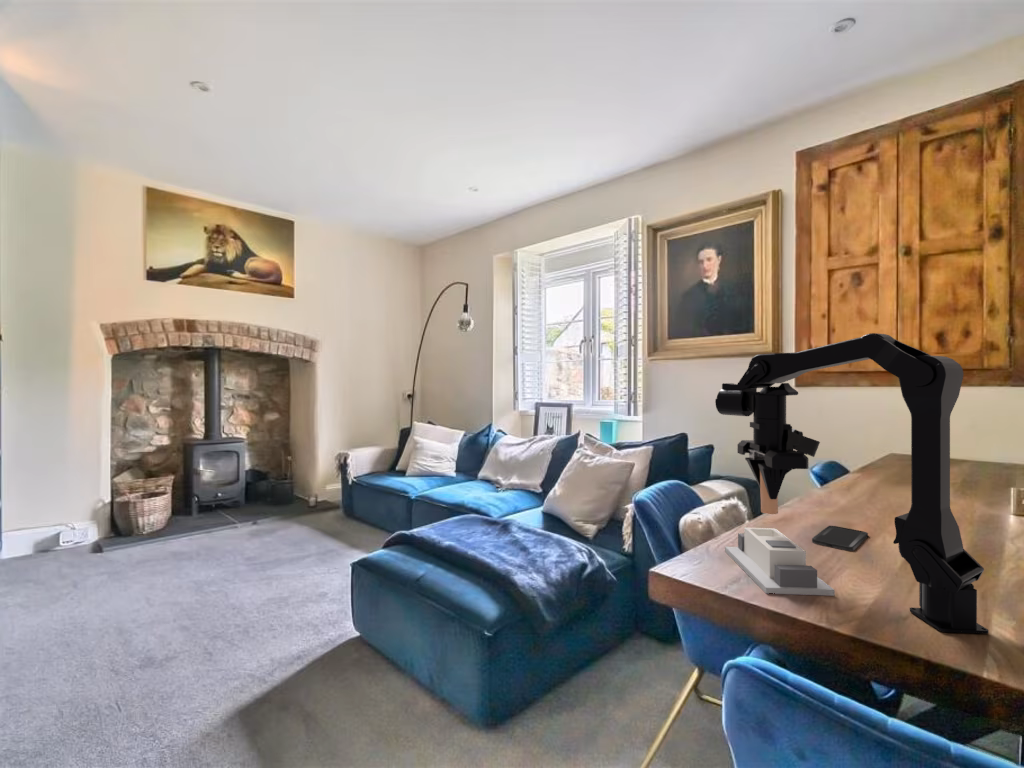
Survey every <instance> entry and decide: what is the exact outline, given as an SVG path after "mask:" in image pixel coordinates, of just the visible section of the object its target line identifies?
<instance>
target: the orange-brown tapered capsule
mask: <svg viewBox="0 0 1024 768" xmlns="http://www.w3.org/2000/svg"><path fill="white" fill-rule="evenodd" d="M759 489H760V494H759V495H760V512H761V513H762V514H765V515H766V514H768V515H777V514H779V498H778V497H779V495H778V496H777V499H770V497H769V495H768V492H767V489H766V486H765V483H764V480H763V477H762V474H761V472H760V487H759Z"/></svg>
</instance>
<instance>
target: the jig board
mask: <svg viewBox="0 0 1024 768" xmlns="http://www.w3.org/2000/svg"><path fill="white" fill-rule="evenodd" d="M724 552H725V553H726V554H727V555H728V557H730V558H731V559H732V560H733V562H735V563H736V564H737V565H738V567H740V568H741V569H742V571H743V572H744V573H745V574H747V576H748V577H750V578H751V580H752V581H754V583H755V584H756V585H757V586H758V587H759V588H760V589H761V590H762V591H763V592H764V593H765V594H769V593H773V594H774V593H775V594H776V595H798V596H799V595H801V596H803V595H804V596H806V595H807V596H832V597H833V596H834V597H835V589H834V588H833V587H831V585H829V584H827V583H826V582H825V581H824V580H822V579H821V578H819V577H818V570H817V569H816V568H815V567H814V566H812V565H806V566H804V565H775V578H769V577H768V576H767V575H766V574H765V573H764V572H763V571H762V570H761V569H760V568H759V567H758V566H757V565H756V563H755V562H754V561H753V560H752V559H751V558H750V557H749V556H748V555H747V554H746V553H745V552H744V533H740V532H739V533H737V546H724ZM773 594H772V595H773Z"/></svg>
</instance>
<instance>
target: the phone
mask: <svg viewBox="0 0 1024 768" xmlns="http://www.w3.org/2000/svg"><path fill="white" fill-rule="evenodd" d="M868 534H869V533H868V532H867V531H863V530H858V529H853V528H848V527H842V526H836V525H828V526H826V527H825V528H824V529H822V530H821V531H819V532H818V533H817V534H815V535H814V536H813V537H812V538H811V543H813V544H815V545H820V546H824V547H830V548H833V549H838V550H842V551H846V552H847V551H849V552H854V551H856V549H857V548H858V547H859V546H860V545H862V543H863V542H864V541H865V540H866V539H867V538H868V536H869V535H868Z"/></svg>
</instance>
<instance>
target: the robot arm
mask: <svg viewBox="0 0 1024 768" xmlns="http://www.w3.org/2000/svg"><path fill="white" fill-rule="evenodd" d="M869 360H871V361H873V362H874V363H876V364H877V365H878V366H879V367H881V368H882V369H883V370H885V371H886V372H888V373H890V374H892V375H894V376H895V377H896V378H898V381H899V382H898V383H899V386H900V391H901V396H902V399H903V400H904V403H905V404H906V407H907V409H908V410H909V411H908V412H910V413H909V414H910V421H911V424H910V425H911V427H910V428H911V429H910V431H911V432H910V435H911V436H910V437H911V443H910V444H911V445H910V446H911V449H910V450H911V452H910V453H911V463H910V465H911V470H910V471H911V472H910V473H911V478H910V479H911V490H910V491H911V493H910V495H911V496H910V497H911V500H910V501H911V503H910V509H909V511H908V512H906V513H903V514H901V515H897V516H895V517H894V526H895V528H894V529H895V538H894V539H893V545H897V544H898V546H897V547H898V552H899V555H900V556H901V557H902V559H904V560H905V561H906V562H907V563H908V564H909V566H910V569H911V572H912V574H913V576H914V579H915V581H916V582H917V583H919V591H918V592H919V595H918V596H919V601H918V603H919V604H918V605H919V607H909V611H910V613H911V614H913V615H915V617H917V618H919V619H921V620H923V621H924V622H925V623H927V624H929V626H932V627H933V628H935V629H936V630H937V631H939V632H942V633H960V634H962V633H963V634H984V635H985V634H986V635H987V634H989V633H990V632H989V631H990V629H988V628H987V627H985V626H984V625H982V624H980V623H978V590H977V589H976V588H975V586H974V584H973V583H974V582H977V581H979V580H980V579H981V576H982V574H983V573H984V571H985V569H984V567H983V566H982V565H981V564H980V563H979V562H978V561H977V560H976V559H975V558H974V557H973V556H972V555H971V554H970V553H969V552H968V551H967V550H965V548H964V544H963V539H962V536H961V535H962V534H961V530H960V526H959V525H958V522H957V520H956V518H955V516H954V515H953V512H952V509H951V415H952V411H953V410H954V408H955V405H956V403H957V401H958V399H959V397H960V392H961V388H962V383H963V381H964V380H963V379H964V369H963V367H962V366H961V364H960V363H958V362H957V361H956V360H954V359H953V358H950V357H947V356H943V355H931V354H929V353H927V352H925V351H923V350H921V349H917V348H916V347H914V346H911V345H908V344H906V343H904V342H901V341H900V340H897V339H895V338H893V336H891V335H890V334H886V333H878V332H877V333H876V332H870V333H867V334H864V335H862V336H861V337H856V338H851V339H847V340H842V341H839V342H833V343H829V344H826V345H822V346H821V345H820V346H817V347H814V348H813V347H812V348H810V349H809V348H808V349H805V350H801V351H797V352H782V353H781V352H779V353H778V352H777V353H762V354H756V355H754V356H752V357H751V359H750V361H749V364H748V368H747V369H746V371H745V372H744V374H743V375H742V377H741V378H740V380H739V381H738V382H737V383H732V382H731V383H729V382H728V383H722V384H721V389H720V390H719V391H718V393H717V396H716V398H715V402H714V403H715V408H716V410H717V412H718V413H719V414H720V415H723V416H724V415H725V416H734V417H735V416H736V417H737V416H738V417H750V416H752V415H753V416H752V417H753V421H750V422H749V428H751V429H753V432H752V433H753V439H751V440H749V439H748V440H747V439H741V440H740V441H739V442H738V443H737V454H739V455H742V456H745V455H746V454H748V456H749V457H745V458H744V459H745V461H746V463H747V465H748V466H749V469H750V470H751V472H752V474H753V476H754V478H755V480H756V482H757V485H758V487H759V488H760V472H761V474H762V477H763V480H764V483H765V486H766V489H767V492H768V495H769V497H770V499H777V496H778V497H779V492H780V489H781V488H782V484H783V481H784V480H785V477H786V475H787V474H788V473H789V472H791V471H792V470H796V469H797V470H808V469H809V457H808V456H810V457H813V458H814V457H815V455H816V454H817V450H818V449H819V445H820V443H821V442H820V441H818V440H815V439H814V438H811V437H807V436H805V435H804V432H803V431H800V430H797V429H795V428H793V425H791V423H790V424H789V423H787V396H798V395H799V391H797V389H795V388H794V387H792V386H791V385H790V382H788V381H790V380H793V379H796V378H798V377H800V376H802V375H803V374H806V373H809V372H813V371H818V370H821V369H822V370H823V369H827V368H828V369H829V368H832V367H837V366H838V367H839V366H842V365H848V364H852V363H857V362H863V361H869ZM775 384H780V385H778V386H774V385H775ZM757 389H761V390H760V391H757Z"/></svg>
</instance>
